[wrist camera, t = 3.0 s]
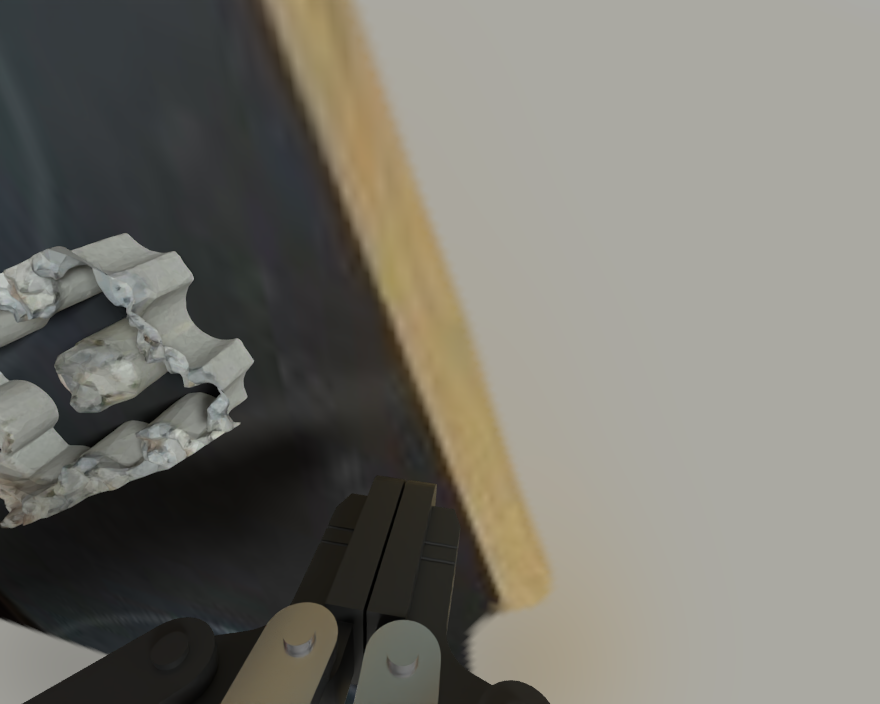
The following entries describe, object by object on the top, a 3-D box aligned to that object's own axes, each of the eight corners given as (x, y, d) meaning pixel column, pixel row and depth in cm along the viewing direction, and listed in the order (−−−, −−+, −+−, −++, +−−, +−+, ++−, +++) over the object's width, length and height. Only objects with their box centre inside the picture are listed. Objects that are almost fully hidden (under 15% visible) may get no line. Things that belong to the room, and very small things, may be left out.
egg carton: (88, 465, 21) (-3, 540, 17) (-43, 313, 18) (-182, 364, 15) (288, 399, 18) (227, 474, 14) (164, 203, 15) (50, 233, 11)
